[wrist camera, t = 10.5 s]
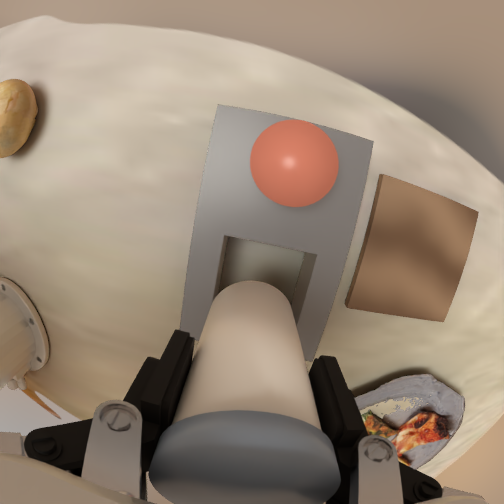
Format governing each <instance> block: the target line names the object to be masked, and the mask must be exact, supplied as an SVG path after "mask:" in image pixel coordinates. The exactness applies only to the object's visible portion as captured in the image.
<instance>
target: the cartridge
mask: <svg viewBox="0 0 504 504" xmlns="http://www.w3.org/2000/svg"><path fill="white" fill-rule="evenodd" d="M149 479H150V481H151V483H152V485H153V487H154V488H155V489H156V490H157V491H158V492H159V493H160V494H161V495H162V496H164V497H165V498H166V499H167V500H169V501H170V502H172V503H174V504H323V503H324V502H326V501H327V500H329V499H330V498H331V497H332V496H333V495H334V494H335V493H336V491H337V490H338V488H339V486H340V482H341V477H340V472H339V468H338V464H337V460H336V456H335V452H334V448H333V445H332V443H331V441H330V439H329V438H328V436H327V435H326V434H325V433H323V432H322V430H321V425H320V421H319V417H318V413H317V408H316V404H315V400H314V396H313V391H312V387H311V383H310V379H309V375H308V371H307V367H306V363H305V359H304V355H303V351H302V347H301V343H300V339H299V335H298V331H297V327H296V323H295V319H294V316H293V312H292V308H291V305H290V303H289V301H288V299H287V298H286V297H285V295H284V294H283V293H282V292H281V291H279V290H278V289H277V288H275V287H274V286H272V285H270V284H267V283H264V282H260V281H241V282H237V283H234V284H232V285H230V286H228V287H226V288H225V289H223V290H222V291H221V292H220V293H219V294H218V295H217V296H216V298H215V299H214V301H213V303H212V305H211V308H210V311H209V314H208V316H207V319H206V322H205V325H204V328H203V331H202V334H201V337H200V340H199V343H198V346H197V349H196V352H195V355H194V358H193V361H192V364H191V367H190V370H189V373H188V376H187V379H186V382H185V385H184V388H183V391H182V394H181V397H180V400H179V403H178V406H177V409H176V412H175V415H174V419H173V422H172V425H171V426H169V427H168V428H167V429H166V430H165V431H164V432H163V433H162V435H161V436H160V438H159V441H158V444H157V447H156V450H155V453H154V456H153V459H152V462H151V465H150V468H149Z"/></svg>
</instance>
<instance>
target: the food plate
mask: <svg viewBox="0 0 504 504" xmlns="http://www.w3.org/2000/svg"><path fill="white" fill-rule="evenodd" d="M434 378H435V377H434V376H432V375H431V374H421V375H417V374H416V375H412V376H404V377H400V378H397V379H393V380H392V381H390V382H388V383H385V384H384V385H381V386H380V387H379V388H377V389H376V390H373V391H370V392H369V393H368V392H367V394H363V395H360V396H358V397H356V398H354V399H355V401H356V404H357V406H358V409H359V411H360V410H362V409H365V408H366V407H368V406H372V405H374V404H376V403H379V402H383V401H386V402H387V401H388V400H389V399H393V401H396V400H397V401H402V400H403V398H402V397H407V398H412V399H411V400H408V401H409V403H411V402H413V401H412V400H415V401H414V402H416V403H415V405H414V407H413V408H412V409H410V407H408V408H406V410H405V411H404V410H401V409H400V407H401V406H400V405H399V406H398V405H396V406H397V407H396V408H395V410H397V411H396V412H393V413H390V415H387V414H385V415H384V417H383V419H381V418H379V417H378V416H376V415H375V414H373V413H372V411H371V410H369V411H368V412H367V413H364V414H363V415H361V416H362V419H363V422H364V424H365V427H366V429H367V432H368V434H369V435H378V436H383V437H385V438H387V439H388V440H390V441H391V442H392V443H393V444H394V446H395V447H396V450H397V455H398V461H400V462H401V463H403V464H405V465H407V466H409V467H411V468H413V469H415V470H416V469H418V468H419V467H421V466H422V465H424V464H426V463H427V462H428V461H430V460H431V459H432V458H433V457H434V456H436V455H437V454H438V453H439V452H440V451H441V450H442V449H443V448H444V447H445V446H446V445H447V443H448V442H449V441H450V439H451V438H452V437H453V435H454V434H455V433H456V431H457V430H458V429H459V427H460V425H461V423H462V417H463V413H464V411H465V398H464V397H462V396H461V395H460V394H458V393H456V392H455V391H454V390H452V389H451V388H450V387H448V386H446V385H445V384H443V382H440V381H438V382H437V379H436V378H435V379H434ZM430 395H431V396H430ZM414 397H417V398H419V400H416V398H415V399H414ZM420 398H422V399H420ZM420 400H421V401H420ZM422 400H423V402H422ZM397 401H396V402H397ZM404 401H406V398H405V400H404ZM419 401H420V402H419ZM386 402H384V403H386ZM417 403H418V404H417ZM426 403H429V404H426ZM412 404H414V403H412ZM420 404H421V406H418V405H420ZM377 406H378V405H377ZM411 406H413V405H411ZM415 406H417V407H416V408H415ZM398 407H399V408H398ZM397 408H398V409H397ZM393 409H394V408H393ZM407 410H408V411H407ZM381 414H383V413H381ZM388 422H389V423H388Z"/></svg>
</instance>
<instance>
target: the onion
mask: <svg viewBox="0 0 504 504" xmlns="http://www.w3.org/2000/svg"><path fill="white" fill-rule="evenodd" d="M37 113H38V107H37V104H36V100H35V95H34V93H33V91H32V89H31V87H30V86H29V85H28V84H27V83H26V82H24V81H22V80H19V79H10V80H6V81H3V82H1V83H0V158H4V157H8V156H10V155H12V154H14V153H15V152H16V151H17V150H19V149H20V148H21V147H22V146H23V144H24V143H25V142H26V140H27V138H28V137H29V135H30V131H31V130H32V128H33V127H34V124H35V122H36V120H35V117H36V115H37Z"/></svg>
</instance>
